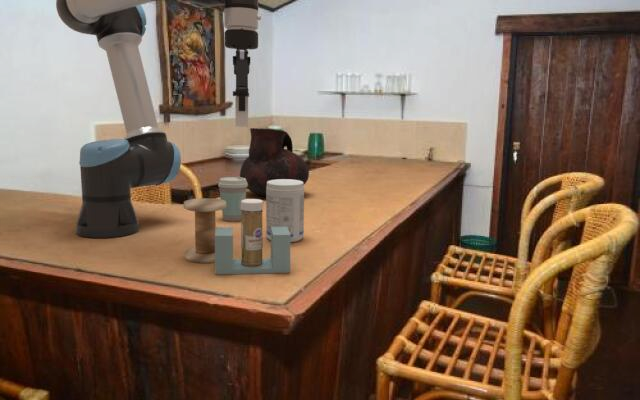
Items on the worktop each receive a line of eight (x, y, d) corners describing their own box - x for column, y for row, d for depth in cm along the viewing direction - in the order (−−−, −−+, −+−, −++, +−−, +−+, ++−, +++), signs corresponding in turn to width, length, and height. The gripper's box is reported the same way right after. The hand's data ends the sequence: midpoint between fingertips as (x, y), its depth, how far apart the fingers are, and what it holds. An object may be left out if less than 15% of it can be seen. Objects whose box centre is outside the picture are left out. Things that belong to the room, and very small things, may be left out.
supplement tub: (285, 232, 143) (286, 177, 140) (311, 239, 136) (312, 182, 134) (258, 238, 136) (258, 181, 133) (283, 245, 130) (284, 185, 127)
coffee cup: (242, 223, 151) (242, 181, 149) (213, 221, 153) (213, 179, 151) (251, 217, 160) (251, 177, 158) (224, 215, 161) (224, 176, 159)
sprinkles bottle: (254, 268, 108) (254, 203, 106) (236, 264, 111) (236, 200, 108) (267, 262, 112) (267, 199, 110) (249, 259, 114) (249, 197, 112)
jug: (320, 194, 202) (322, 128, 197) (281, 204, 181) (282, 130, 176) (268, 187, 215) (268, 125, 210) (225, 196, 194) (225, 126, 189)
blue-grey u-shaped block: (215, 274, 107) (214, 235, 105) (216, 264, 114) (216, 227, 112) (289, 272, 109) (290, 234, 108) (286, 262, 116) (287, 226, 115)
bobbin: (183, 263, 114) (181, 206, 111) (186, 251, 122) (185, 198, 120) (225, 262, 115) (225, 205, 113) (226, 250, 124) (226, 198, 121)
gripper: (260, 23, 109) (260, 128, 113) (256, 37, 133) (255, 123, 137) (223, 21, 108) (224, 127, 112) (225, 35, 132) (225, 122, 136)
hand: (241, 125), depth 124 cm, fingers open, 13 cm apart
